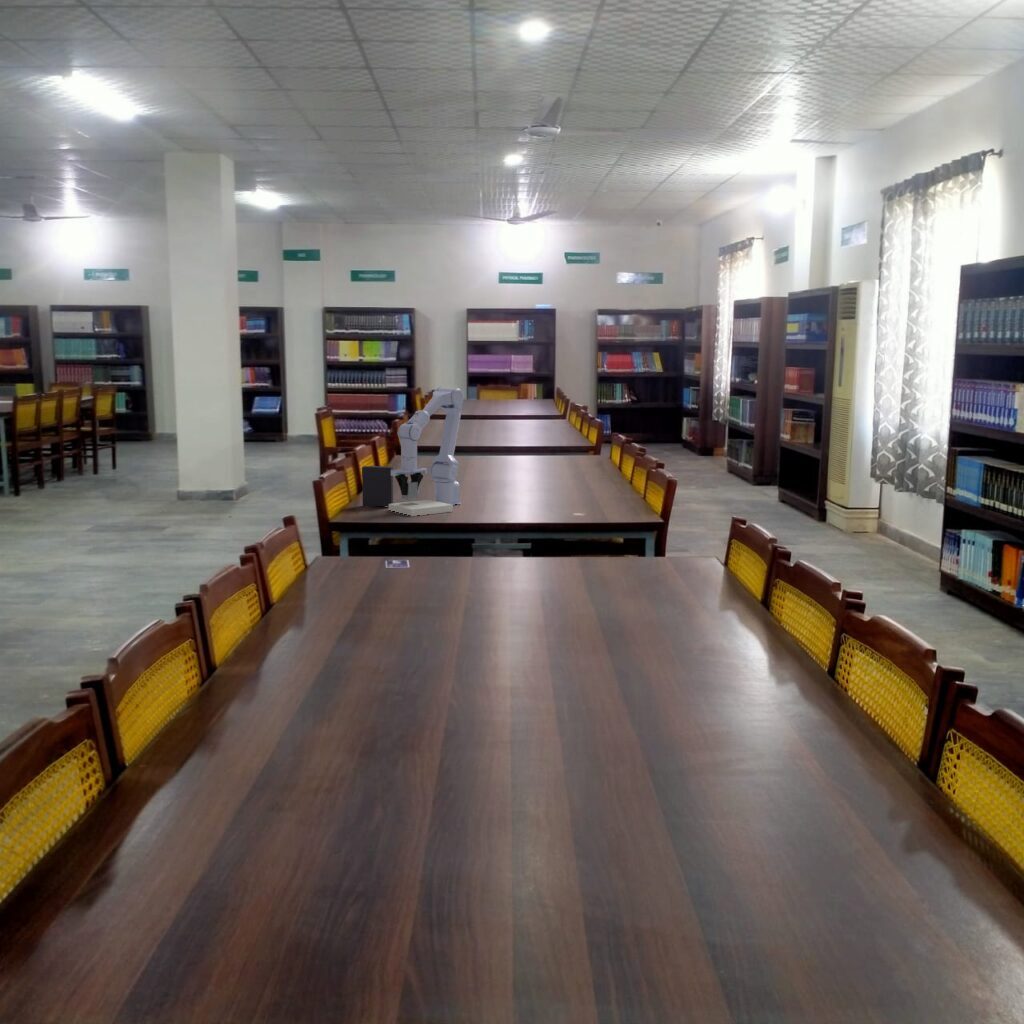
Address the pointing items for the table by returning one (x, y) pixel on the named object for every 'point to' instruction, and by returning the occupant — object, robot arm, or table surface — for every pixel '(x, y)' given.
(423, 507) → the slot board
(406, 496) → the pin
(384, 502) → the dark grey rectangular block
